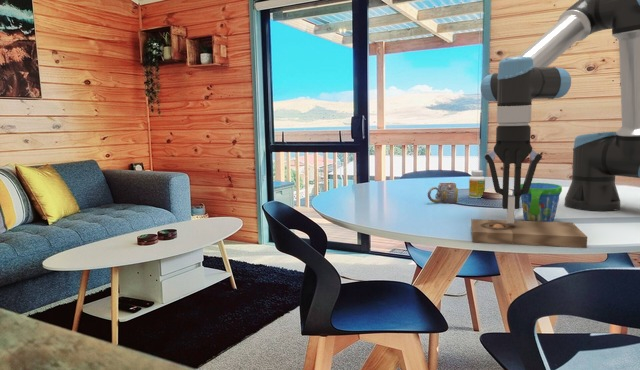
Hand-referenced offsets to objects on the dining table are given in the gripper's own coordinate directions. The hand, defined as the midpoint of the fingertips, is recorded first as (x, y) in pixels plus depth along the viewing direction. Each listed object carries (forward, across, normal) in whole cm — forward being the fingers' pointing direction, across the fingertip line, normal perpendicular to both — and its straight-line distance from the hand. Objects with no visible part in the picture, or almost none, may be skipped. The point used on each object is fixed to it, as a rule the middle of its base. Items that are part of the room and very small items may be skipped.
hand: (510, 221), depth 112 cm
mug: (+4, +18, -43) cm, 47 cm away
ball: (+2, +3, 0) cm, 3 cm away
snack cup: (+4, -9, -18) cm, 21 cm away
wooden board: (+4, -3, 0) cm, 5 cm away
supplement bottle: (+4, +6, -55) cm, 55 cm away
